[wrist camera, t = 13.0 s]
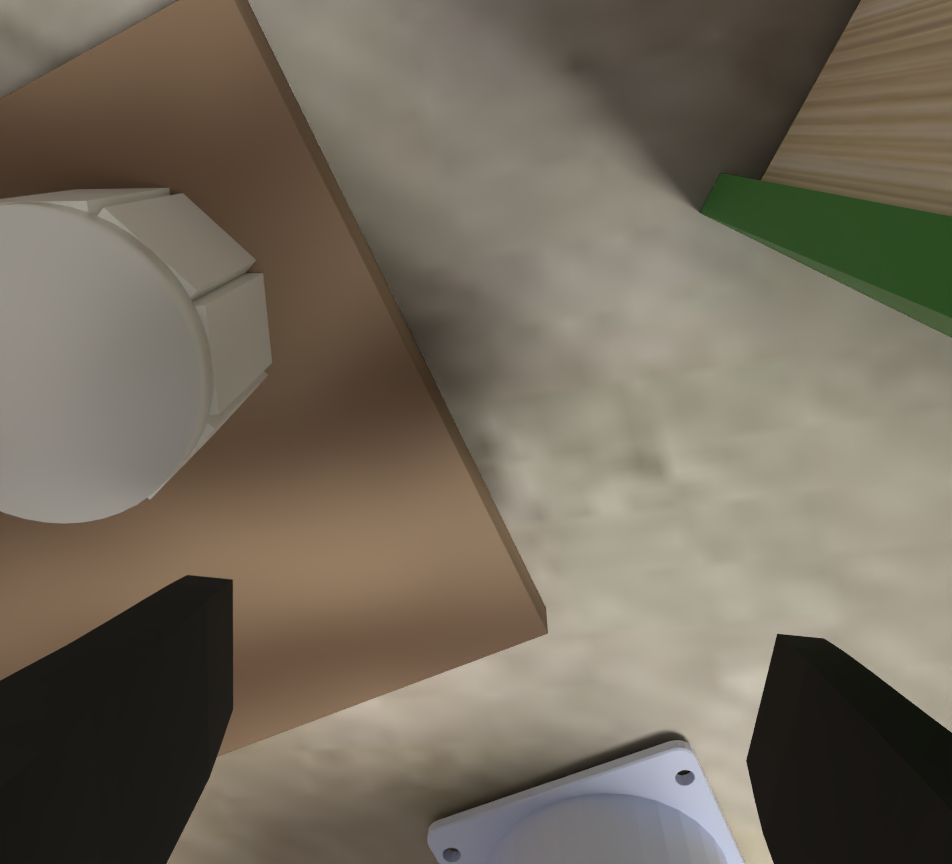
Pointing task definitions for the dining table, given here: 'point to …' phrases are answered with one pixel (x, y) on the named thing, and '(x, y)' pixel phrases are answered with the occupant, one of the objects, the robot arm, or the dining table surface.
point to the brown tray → (267, 404)
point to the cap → (117, 346)
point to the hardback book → (866, 165)
